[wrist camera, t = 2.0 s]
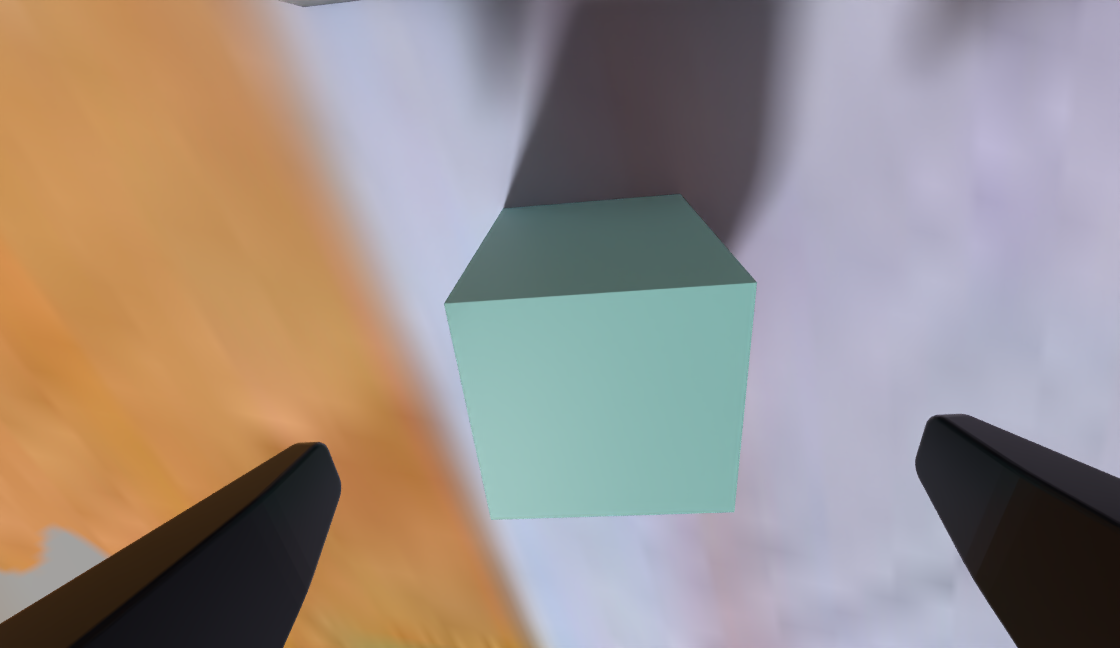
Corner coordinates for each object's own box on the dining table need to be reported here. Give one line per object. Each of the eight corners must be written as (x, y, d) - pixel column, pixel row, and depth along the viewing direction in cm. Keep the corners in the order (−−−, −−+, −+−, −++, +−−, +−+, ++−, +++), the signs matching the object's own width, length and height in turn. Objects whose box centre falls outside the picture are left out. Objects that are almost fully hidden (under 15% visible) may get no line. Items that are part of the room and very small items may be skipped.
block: (676, 348, 14) (733, 512, 9) (524, 357, 14) (491, 519, 9) (679, 193, 12) (757, 282, 7) (503, 208, 12) (443, 303, 7)
